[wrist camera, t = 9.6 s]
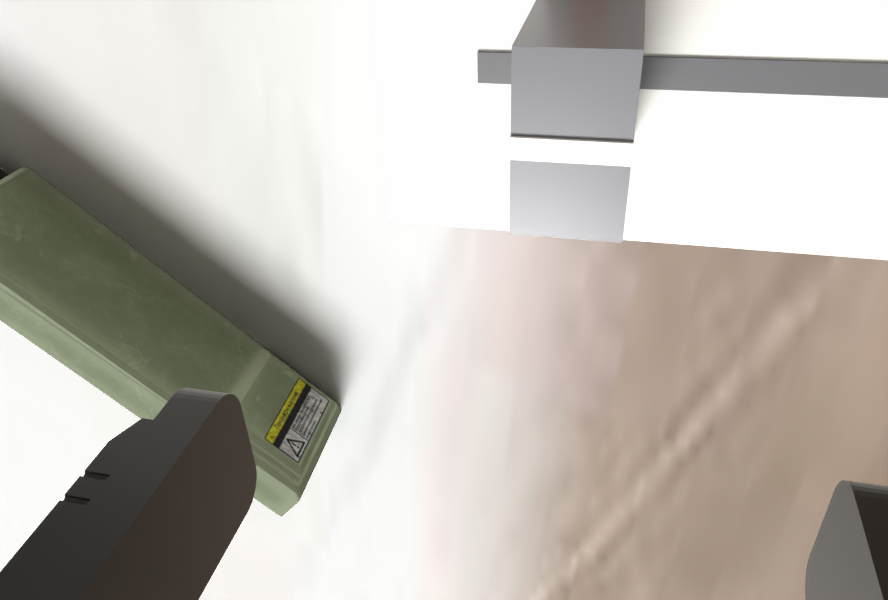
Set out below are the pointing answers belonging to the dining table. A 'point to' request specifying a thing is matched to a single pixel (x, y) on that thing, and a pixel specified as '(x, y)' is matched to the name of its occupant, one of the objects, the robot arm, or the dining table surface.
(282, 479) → the handheld radio
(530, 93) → the block
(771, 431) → the dining table surface
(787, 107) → the console
